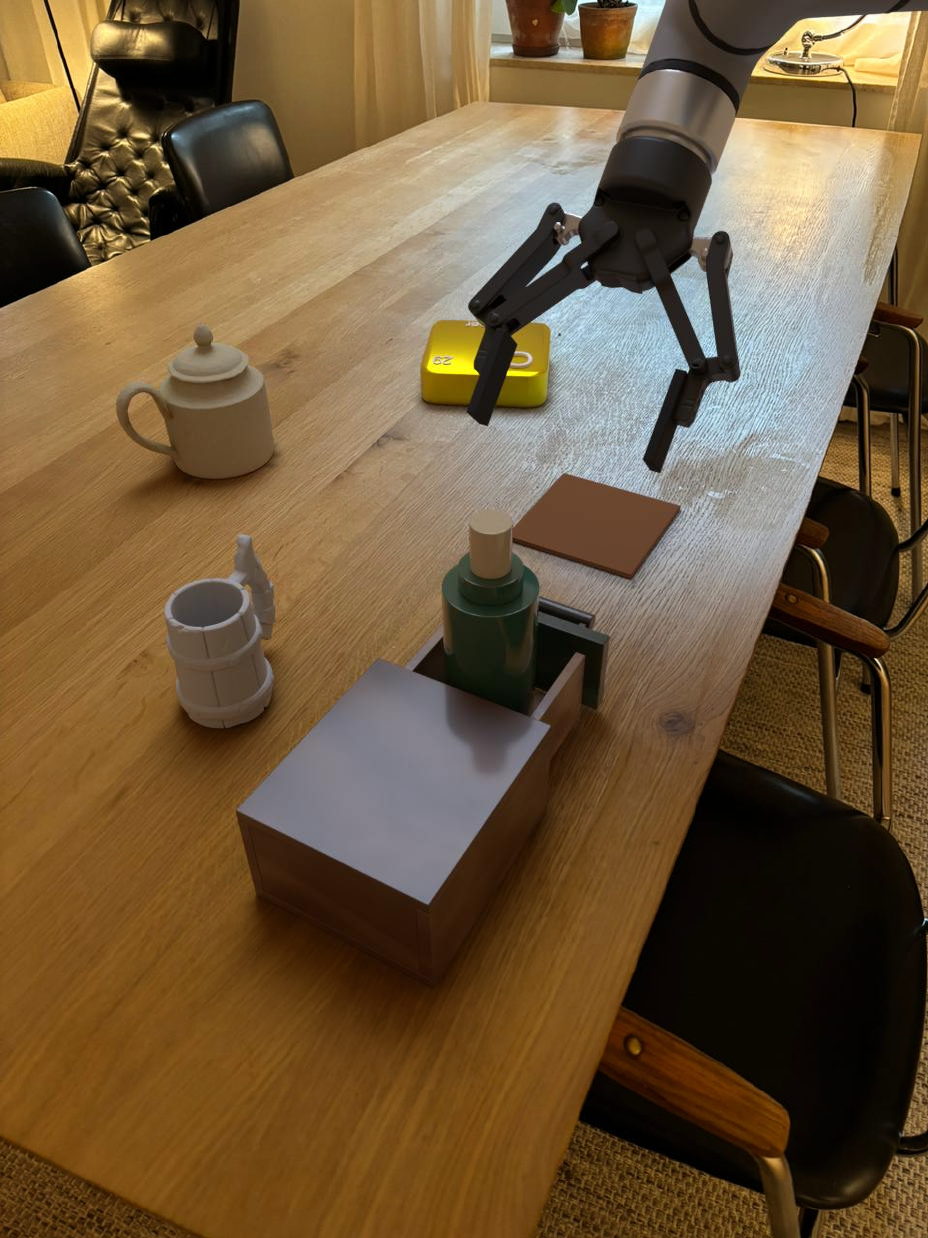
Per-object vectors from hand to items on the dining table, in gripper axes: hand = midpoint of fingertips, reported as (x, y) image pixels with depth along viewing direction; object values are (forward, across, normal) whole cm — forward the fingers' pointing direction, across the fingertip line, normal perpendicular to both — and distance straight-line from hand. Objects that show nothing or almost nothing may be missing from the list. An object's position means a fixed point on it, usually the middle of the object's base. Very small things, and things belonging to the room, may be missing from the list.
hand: (560, 442), depth 70 cm
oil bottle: (+21, 0, -6) cm, 21 cm away
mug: (+25, +21, -4) cm, 33 cm away
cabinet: (+30, 0, +1) cm, 31 cm away
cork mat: (+1, +4, -29) cm, 29 cm away
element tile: (-15, +29, -45) cm, 55 cm away
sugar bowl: (+7, +46, -22) cm, 51 cm away
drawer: (+20, 0, -8) cm, 22 cm away
